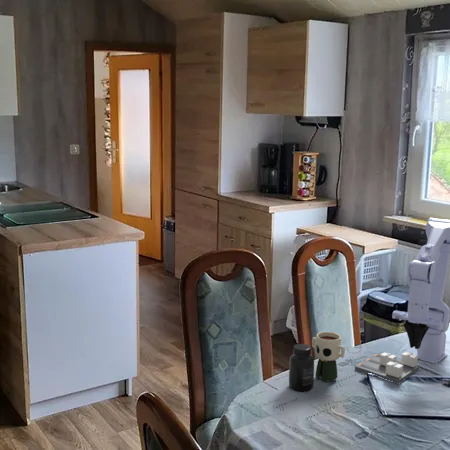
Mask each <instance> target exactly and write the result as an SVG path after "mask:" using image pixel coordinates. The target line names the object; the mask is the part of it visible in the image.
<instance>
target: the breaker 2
mask: <svg viewBox="0 0 450 450" xmlns="http://www.w3.org/2000/svg"><path fill="white" fill-rule="evenodd" d="M400 360H401V364H404V365H408V366H411V367H415V366H416V365H418V362H419V359H418V355H415V354H414V353H413V352H409V351H404V352H403V353H401V359H400Z"/></svg>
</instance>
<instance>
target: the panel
mask: <svg viewBox="0 0 450 450" xmlns="http://www.w3.org/2000/svg"><path fill="white" fill-rule="evenodd" d="M381 354H382V353H379V352H377V353H375V354H373V355H372V356H370V357H368V358H367V359H365V360H363V361H361V362H360V363H358V364H356V365H355V366H354V370H355V371H357V372H359V373H363V374H366V375H368V374H367V373H372V374H375V375H377V376H380V377H382V378H384V379H387V380H390V381H393V382H395V383H394V384H396V383H398V384H397V385H400V384H401V383H402V381H403V380H404V379H405V380H407V379H408V378H410V377H412V375H414V374H415V373H417V372H418V371H420V367H421V365H418V364H417V365H416V366H415V367H411V366H408V365H404V364H401V359H399V358H396V363H398V364H401V365H403V374H402V376H400V377H399V378H397V377H394V376H391V375H388V374H385V373H386V366H384V365H381V364H380V355H381ZM409 376H410V377H409ZM407 377H408V378H407ZM406 378H407V379H406ZM384 379H383V380H384ZM387 380H386V381H387ZM405 380H404V381H405ZM390 381H389V382H390ZM404 381H403V382H404ZM393 382H392V383H393ZM400 382H401V383H400ZM399 383H400V384H399Z"/></svg>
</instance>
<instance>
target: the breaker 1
mask: <svg viewBox="0 0 450 450" xmlns="http://www.w3.org/2000/svg"><path fill="white" fill-rule="evenodd" d="M385 374H388V375H391V376H394V377H397V378H399V377H400V376H402V374H403V365H401V364H398V363H396V362H395V363H394V362H391V361H390V362H388V363H387V364H386V373H385Z"/></svg>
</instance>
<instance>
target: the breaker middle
mask: <svg viewBox="0 0 450 450" xmlns="http://www.w3.org/2000/svg"><path fill="white" fill-rule="evenodd" d="M380 354H381V355H380V364H381V365H384V366H386V364H387V363H388V362H390V361H391V362H394V363H395V362H396V359H397V355H394V354H393V353H390V352H389V353H388V352H385V351H383V352H382V353H380Z"/></svg>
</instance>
